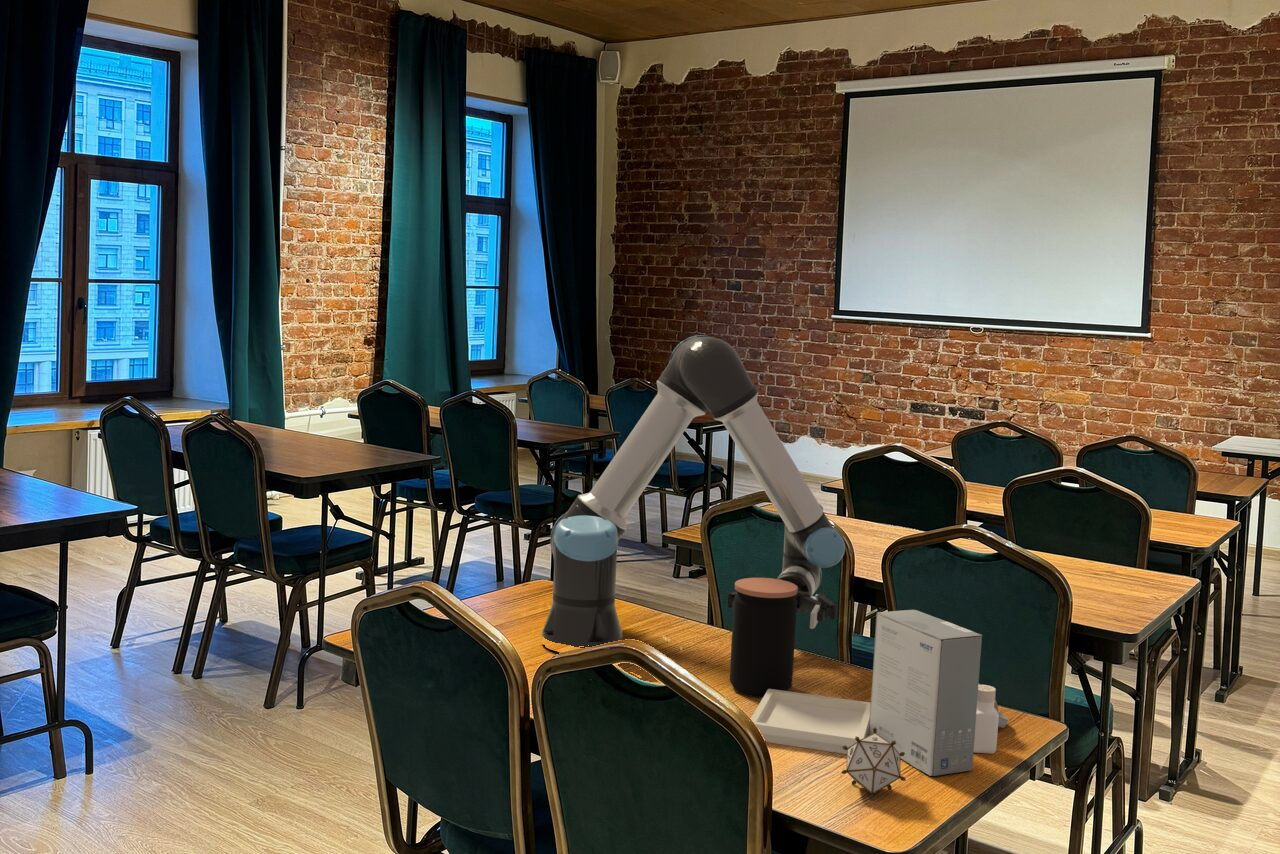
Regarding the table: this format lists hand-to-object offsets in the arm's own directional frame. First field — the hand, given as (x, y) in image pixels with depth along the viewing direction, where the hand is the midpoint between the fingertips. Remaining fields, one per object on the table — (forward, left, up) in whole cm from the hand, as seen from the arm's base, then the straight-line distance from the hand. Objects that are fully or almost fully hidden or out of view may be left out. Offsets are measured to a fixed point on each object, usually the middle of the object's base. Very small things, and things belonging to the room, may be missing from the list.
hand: (773, 616), depth 206 cm
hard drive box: (+27, -30, -10) cm, 42 cm away
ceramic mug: (+35, -13, -10) cm, 39 cm away
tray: (+11, -25, -10) cm, 29 cm away
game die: (+22, -46, -10) cm, 52 cm away
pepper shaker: (+36, -24, -10) cm, 44 cm away
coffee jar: (0, -10, -10) cm, 14 cm away
